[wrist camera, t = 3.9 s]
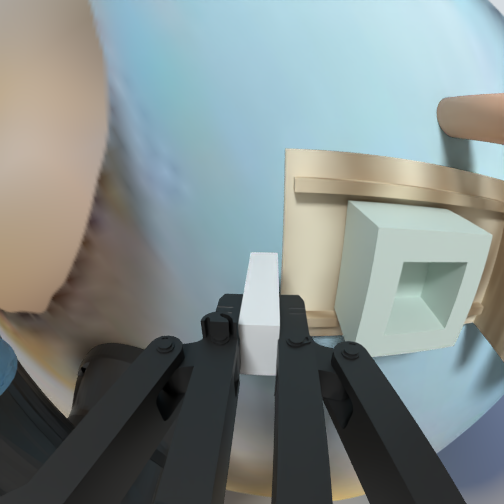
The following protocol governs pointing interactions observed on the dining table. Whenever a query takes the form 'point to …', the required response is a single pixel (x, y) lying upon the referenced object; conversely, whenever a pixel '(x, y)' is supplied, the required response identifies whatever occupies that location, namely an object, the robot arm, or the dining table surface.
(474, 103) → the dowel
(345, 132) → the dining table surface
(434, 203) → the board
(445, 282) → the block
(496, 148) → the dining table surface
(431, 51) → the dining table surface
